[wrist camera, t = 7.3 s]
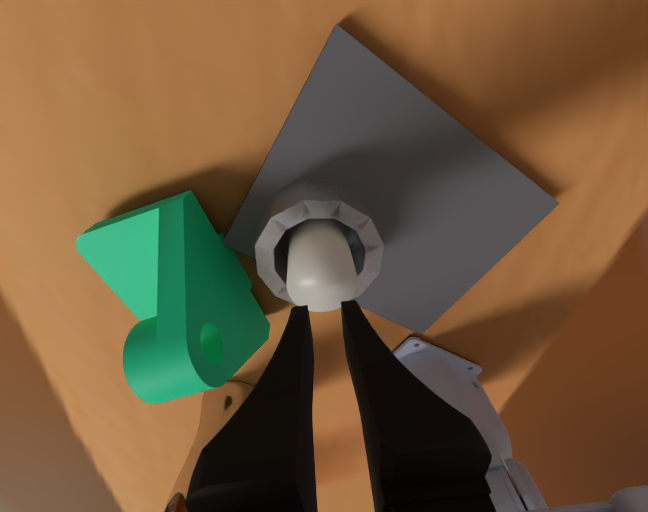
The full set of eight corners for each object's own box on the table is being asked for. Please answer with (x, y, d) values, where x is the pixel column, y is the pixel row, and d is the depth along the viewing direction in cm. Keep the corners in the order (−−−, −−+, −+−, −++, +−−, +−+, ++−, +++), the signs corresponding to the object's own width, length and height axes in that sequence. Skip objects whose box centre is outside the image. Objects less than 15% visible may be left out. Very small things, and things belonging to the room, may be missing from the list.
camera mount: (92, 220, 20) (-61, 337, 12) (196, 183, 20) (114, 280, 11) (189, 338, 27) (135, 472, 18) (271, 314, 26) (256, 442, 17)
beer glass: (257, 371, 29) (224, 607, 17) (276, 412, 33) (261, 630, 20) (186, 384, 30) (101, 625, 17) (213, 423, 33) (160, 644, 21)
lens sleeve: (392, 213, 20) (407, 239, 17) (332, 289, 23) (337, 322, 20) (296, 156, 18) (295, 174, 15) (244, 248, 21) (235, 279, 18)
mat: (549, 197, 22) (559, 203, 21) (417, 326, 28) (421, 334, 27) (334, 26, 16) (336, 24, 15) (225, 236, 22) (222, 244, 21)
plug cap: (354, 221, 20) (372, 274, 15) (325, 261, 22) (332, 321, 17) (307, 195, 19) (309, 242, 14) (280, 239, 21) (273, 295, 16)
